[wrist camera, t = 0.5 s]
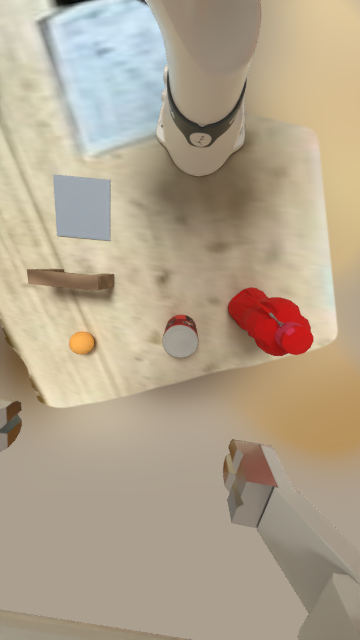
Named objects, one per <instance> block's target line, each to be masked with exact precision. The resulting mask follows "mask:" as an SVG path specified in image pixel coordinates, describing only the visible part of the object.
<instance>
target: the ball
mask: <svg viewBox="0 0 360 640" xmlns="http://www.w3.org/2000/svg"><path fill="white" fill-rule="evenodd" d="M69 346H70V349H71V350H72V351H73V352H74V353H76V354H86V353H88V352H89V351H91V350H92V348H93V346H94V339H93V337H92V336H91V335H90V334H89V333H87V332H78V333H75V334H74V335H73V336H72V337H71V338H70V341H69Z"/></svg>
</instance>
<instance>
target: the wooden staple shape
mask: <svg viewBox="0 0 360 640" xmlns="http://www.w3.org/2000/svg"><path fill="white" fill-rule="evenodd" d="M27 274H28V283H29V284H35V285H46V286H56V287H66V288H77V289H87V290H98V291H99V290H102V289H106V288H109V287H113V286H114V274H97V275H85V274H75V273H64V270H63V269H27Z"/></svg>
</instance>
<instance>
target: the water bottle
mask: <svg viewBox="0 0 360 640" xmlns="http://www.w3.org/2000/svg"><path fill="white" fill-rule="evenodd" d="M228 310H229V313H230V315H231V316H232V317H233V319H234V320H235V321H236V322H237V324H238V325H239V326H240V327H241V328H242V329H244V330H247V332H248V334H249V336H251V337H253V338H254V339H255V341H256V344H257V346H258V347H260V348H261V349H262V350H263V351H265V352H266V353H268V354H271V355H273V356H283V355H285V354H288V353H290V354H294V355H298V354H302V353H305V352H306V351H307V350H308V349H309V348H310V347H311V345H312V343H313V335H312V333H311V331H310V330H311V327H310V325H309V322H308V320H307V319H306V318H304V317H303V316H302V315H301V314H300V310H299V307H298V306H297V305H295V304H294V303H293V302H292V301H290V300H287V299H284V298H280V297H276V298H268V297H267V296H266V295H265V294H264V292H263V291H261V290H258V289H257V288H247V289H244V290H242V291H241V292H240V293H239V294H237V295H236V296H235V297H233V299H232V300H231V301H230V303H229V306H228Z"/></svg>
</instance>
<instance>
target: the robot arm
mask: <svg viewBox="0 0 360 640" xmlns="http://www.w3.org/2000/svg"><path fill="white" fill-rule="evenodd" d="M145 1H146V2H147V4H148V6H149V8H150V9H151V11H152V13H153V15H154V17H155V19H156V21H157V23H158V26H159V28H160V30H161V33H162V36H163V40H164V45H165V51H166V57H167V64H168V65H165V69H164V83H165V84H166V87H165V90H163V91H162V106H161V110H160V115H159V120H158V124H157V129H156V136H157V139H158V140H159V141H160V142H161V143H162V144H163V145H164V146H165V147H166V148H167V150H168V152H169V154H170V156H171V158H172V160H173V161H174V163H175V164H176V165H177V166H178V167H179V168H180V169H181V170H182V171H184V172H185V173H187V174H190V175H194V176H204V175H208V174H211V173H213V172H215V171H216V170H218V169H219V168H220V167H221V166H222V165H223V164H224V163H225V161H226V160H227V158H228V157H229V156H230V155H231V154H232V153H234V152H235V151H237V150H238V149H240V148H241V147H242V146H243V143H244V140H245V128H244V92H245V88H246V79H247V74H248V71H249V68H250V65H251V62H252V59H253V56H254V52H255V49H256V46H257V43H258V39H259V34H260V28H261V0H145ZM162 126H163V128H161V127H162ZM239 134H240V135H239ZM21 410H22V409H21V402H19V401H16V400H11V399H7V398H2V397H0V452H1V451H3V450H5V449H7V448H8V447H9V446H10V445H11V444H12V443H13V442H14V441H15V439H16V438H17V436H18V434H19V433H20V430H21V426H22V420H21V418H20V417H19V416H18V413H19V412H20V411H21ZM229 451H230V454H228V455H227V456H226V457H225V461H224V466H223V478H224V484H225V487H226V488H227V489H228V491H229V492H230V493H229V497H228V499H227V501H228V506H229V511H230V517H231V522H232V523H234V524H239V525H244V526H249V527H254V528H257V531H258V533H259V534H260V536H261V537H262V539H263V541H264V542H265V544H266V545H267V547H268V548H269V550H270V552H271V553H272V555H273V557H274V558H275V560H276V562H277V563H278V565H279V566H280V568H281V569H282V571H283V573H284V574H285V576H286V578H287V579H288V581H289V582H290V584H291V586H292V587H293V589H294V590H295V592H296V594H297V595H298V597H299V599H300V600H301V602H302V603H303V605H304V607H305V608H306V610H307V611H308V613H309V615H308V616H307V618H306V620H305V622H304V623H303V625H302V626H301V628H300V630H299V633H298V636H297V637H298V640H360V551H359V550H358V549H357V548H356V547H355V546H354V545H353V544H352V543H351V542H350V541H349V540H348V539H347V538H346V537H345V536H344V535H343V534H342V533H341V532H340V531H339V530H338V529H337V528H336V527H335V526H334V525H333V524H332V523H331V522H330V521H329V520H328V519H326V517H325V516H324V515H322V513H320V512H319V511H318V510H317V509H316V508H315V507H314V506H313V505H312V504H311V503H310V502H309V501H308V500H307V499H306V498H305V497H304V496H303V495H302V494H301V493H300V492H298V491H295V490H294V488H293V486H292V484H291V482H290V480H289V478H288V476H287V474H286V472H285V470H284V468H283V466H282V464H281V462H280V460H279V458H278V456H277V454H276V452H275V450H274V448H273V447H272V446H270V445H264V444H257V443H251V442H246V441H240V440H233V439H232V440H231V442H230V444H229ZM0 640H191V639H184V638H178V637H172V636H166V635H159V634H153V633H146V632H140V631H133V630H127V629H121V628H114V627H108V626H102V625H95V624H89V623H82V622H76V621H69V620H63V619H57V618H50V617H44V616H38V615H32V614H25V613H19V612H13V611H6V610H0Z"/></svg>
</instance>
